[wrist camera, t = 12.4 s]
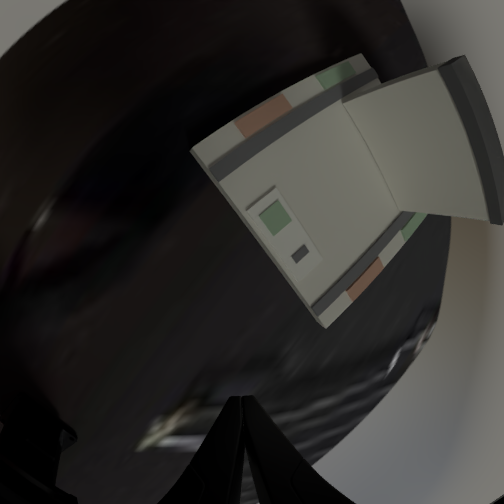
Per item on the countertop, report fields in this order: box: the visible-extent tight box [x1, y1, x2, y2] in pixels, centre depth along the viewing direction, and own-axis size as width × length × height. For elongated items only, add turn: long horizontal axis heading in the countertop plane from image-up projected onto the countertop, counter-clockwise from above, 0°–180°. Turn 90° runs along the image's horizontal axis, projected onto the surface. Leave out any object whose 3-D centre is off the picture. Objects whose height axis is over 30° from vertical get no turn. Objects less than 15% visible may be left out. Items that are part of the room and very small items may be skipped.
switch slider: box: [343, 55, 504, 225], centre depth 15 cm, size 3×10×10 cm, turn 37°
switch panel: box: [190, 53, 428, 328], centre depth 19 cm, size 17×16×2 cm
